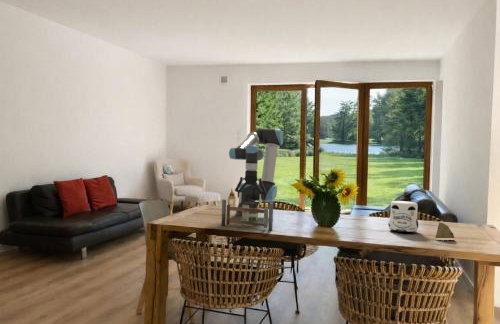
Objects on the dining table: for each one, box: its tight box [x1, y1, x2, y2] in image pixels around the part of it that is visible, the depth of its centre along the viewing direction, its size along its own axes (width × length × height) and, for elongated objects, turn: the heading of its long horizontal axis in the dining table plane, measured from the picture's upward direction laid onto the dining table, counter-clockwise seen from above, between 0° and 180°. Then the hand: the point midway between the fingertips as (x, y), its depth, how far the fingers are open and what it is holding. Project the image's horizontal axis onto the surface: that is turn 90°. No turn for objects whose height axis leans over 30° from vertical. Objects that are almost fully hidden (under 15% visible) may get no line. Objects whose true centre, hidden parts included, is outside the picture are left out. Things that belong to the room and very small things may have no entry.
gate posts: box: [221, 199, 274, 231], centre depth 256 cm, size 2×32×16 cm, turn 72°
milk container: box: [387, 200, 419, 233], centre depth 260 cm, size 17×17×18 cm
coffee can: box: [241, 201, 259, 227], centre depth 267 cm, size 10×10×14 cm
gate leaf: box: [225, 204, 269, 229], centre depth 256 cm, size 2×26×12 cm, turn 72°
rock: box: [435, 222, 455, 238], centre depth 238 cm, size 11×9×10 cm
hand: (250, 203), depth 266 cm, fingers open, 13 cm apart
